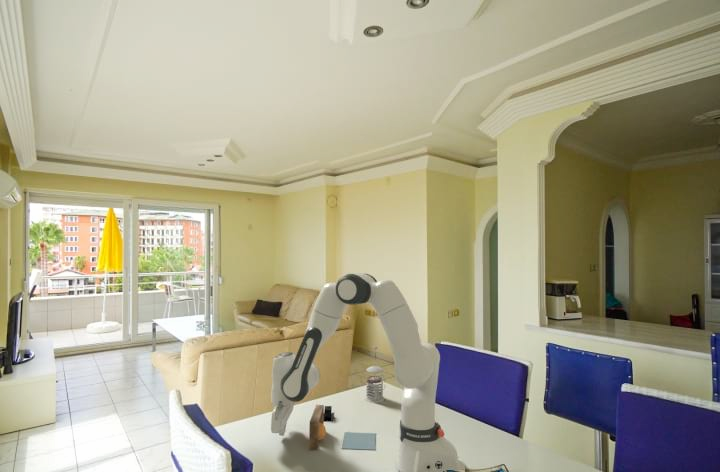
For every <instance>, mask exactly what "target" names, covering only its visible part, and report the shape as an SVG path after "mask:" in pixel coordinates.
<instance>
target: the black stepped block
mask: <svg viewBox="0 0 720 472" xmlns="http://www.w3.org/2000/svg"><path fill="white" fill-rule="evenodd" d="M332 407H333V406H332V405H324V422H329V423H330V422H334V420H335V418H334V416H335V412H333V411H332Z"/></svg>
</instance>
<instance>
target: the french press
mask: <svg viewBox="0 0 720 472" xmlns="http://www.w3.org/2000/svg"><path fill="white" fill-rule="evenodd" d="M372 348H373V349H374V350H377V349H378V346H376V345H374V346H373V347H372ZM365 370H366V372H368V373H370V374H381V373H382V372H383V371H384V369H383V368H382V367H380V366H378V365H372V366H369V367H367V368H366V369H365ZM383 379H384V380H383ZM384 381H386V379H385V377H384V375H383V374H381V375H370V376H367V380H366V391H365V392H366V394H365V397H364V398H363V399H364V401H366V403H367V402H368V403H371V404H376V403H377V404H378V403H382V402H384V401H385V397H384V396H383V395H384V394H383V393H384V392H383V391H384V390H385V388H386V386H384Z"/></svg>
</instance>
